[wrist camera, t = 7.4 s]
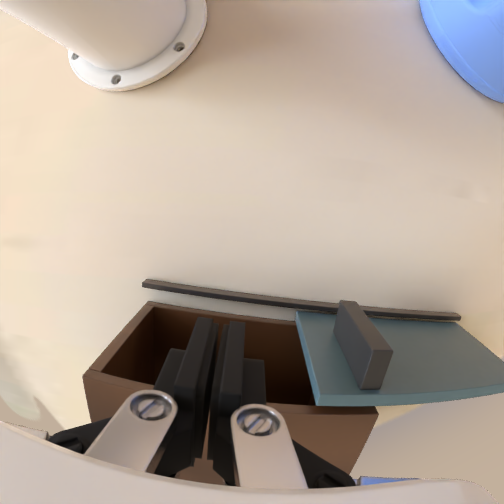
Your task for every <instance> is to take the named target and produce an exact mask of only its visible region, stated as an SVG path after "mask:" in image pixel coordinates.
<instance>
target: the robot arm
mask: <svg viewBox="0 0 504 504" xmlns="http://www.w3.org/2000/svg"><path fill="white" fill-rule="evenodd" d="M0 10H2V11H4V12H6V13H8V14H10V15H11V16H13V17H15V18H17V19H19V20H20V21H22V22H24V23H26V24H27V25H29V26H31V27H32V28H34V29H36V30H38V31H39V32H41V33H43V34H44V35H46V36H48V37H49V38H51V39H53V40H54V41H56V42H58V43H59V44H61V45H62V46H64V47H66V48H67V49H68V56H69V61H70V64H71V66H72V69H73V71H74V72H75V73H76V75H77V76H78V77H79V78H80V79H81V80H83V81H84V82H86V83H87V84H89V85H91V86H93V87H95V88H97V89H101V90H106V91H127V90H132V89H137V88H140V87H143V86H145V85H148V84H151V83H153V82H155V81H157V80H158V79H160V78H162V77H164V76H165V75H167V74H168V73H170V72H171V71H173V70H174V69H176V68H177V67H178V66H179V65H180V64H181V63H182V62H183V61H184V60H185V59H186V58H187V57H188V56H189V55H190V53H191V52H192V51H193V50H194V49H195V47H196V46H197V44H198V42H199V40H200V39H201V37H202V35H203V32H204V29H205V26H206V23H207V13H208V12H207V5H206V1H205V0H0ZM180 49H183V50H182V51H179V50H180ZM120 80H121V81H120ZM119 81H120V82H119ZM118 82H119V83H118ZM218 329H219V323H213V319H211V318H204V317H198V318H197V321H196V323H195V326H194V329H193V332H192V334H191V337H190V340H189V343H188V346H187V348H186V350H180V349H173V348H171V349H170V351H169V353H168V355H167V357H166V360H165V362H164V364H163V367H162V369H161V371H160V374H159V376H158V378H157V381H156V383H155V385H154V388H153V390H142V391H137V392H135V393H133V394H131V395H130V396H129V397H128V398H127V399H126V400H125V402H124V403H123V404H122V406H121V407H120V408H119V409H118V411H117V412H116V413H115V415H114V416H113V417H110V418H106V419H103V420H100V421H96V422H93V423H90V424H86V425H83V426H79V427H75V428H72V429H68V430H64V431H61V432H58V433H56V434H54V435H53V436H49V434H48V432H47V431H42V430H37V429H33V428H28V427H24V426H20V425H15V424H12V423H8V422H4V421H0V504H498V503H497V501H496V500H495V499H494V497H493V496H492V495H491V494H490V493H489V492H488V491H487V490H486V489H485V488H483V487H482V486H480V485H478V484H476V483H473V482H470V481H465V480H458V479H457V480H456V479H445V478H441V479H440V478H437V479H418V478H383V477H367V476H360V478H359V479H352V477H351V476H349V475H348V474H347V473H346V472H344V471H343V470H341V469H339V468H337V467H336V466H334V465H332V464H331V463H329V462H327V461H326V460H324V459H322V458H321V457H319V456H318V455H316V454H314V453H313V452H311V451H310V450H308V449H306V448H305V447H303V446H302V445H300V444H299V443H297V442H296V441H294V440H293V439H291V437H290V434H289V431H288V428H287V425H286V422H285V420H284V418H283V416H282V415H281V414H280V413H279V412H278V411H277V410H275V409H273V408H271V407H269V406H266V387H265V368H264V360H259V359H249V358H244V340H245V323H244V322H236V321H230V325H227V324H224V325H223V330H222V335H221V341H220V346H219V352H218V357H217V363H216V352H217V340H218ZM215 363H216V368H215ZM209 412H210V417H209ZM208 417H209V433H208V450H207V460H213V470H214V471H215V472H216V473H217V474H219V475H220V476H221V477H222V478H223V485H216V484H208V483H200V482H193V481H187V480H181V479H179V477H180V471H182V470H184V469H186V468H188V467H190V466H191V467H194V462H195V458H199V459H202V454H203V448H204V442H205V436H206V429H207V423H208Z"/></svg>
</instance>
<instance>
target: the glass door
mask: <svg viewBox="0 0 504 504" xmlns="http://www.w3.org/2000/svg"><path fill="white" fill-rule="evenodd" d="M295 321H296V325H297V329H298V333H299V337H300V341H301V345H302V349H303V353H304V357H305V361H306V365H307V369H308V374H309V378H310V382H311V386H312V390H313V394H314V399H315V403H316V406H391V405H409V404H422V403H433V402H443V401H452V400H460V399H467V398H474V397H480V396H486V395H492V394H497V393H503V392H504V362H503V361H502V360H501V359H500V358H499V357H497V356H496V355H495V354H494V353H493V352H491V351H490V350H489V349H488V348H487V347H485V346H484V345H483V344H482V343H481V342H479V341H478V340H477V339H476V338H474V337H473V336H472V335H471V334H470V333H468V332H467V331H466V330H465V329H463V328H462V327H461V326H460V325H458V324H457V323H456V322H434V321H415V320H399V319H384V318H371V317H367V315H366V314H365V313H364V311H363V310H362V309H361V308H360V306H359V305H358V304H357V302H354V301H344V300H340V303H339V308H338V312H337V315H335V314H325V313H314V312H305V311H296V316H295Z"/></svg>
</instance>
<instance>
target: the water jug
mask: <svg viewBox="0 0 504 504" xmlns="http://www.w3.org/2000/svg"><path fill="white" fill-rule="evenodd" d="M419 2H420V8H421V12H422V16H423V19H424V22H425V24H426V27H427V29H428V31H429V33H430V35H431V37H432V39H433V40H434V42H435V44H436V45H437V47H438V48H439V50H440V51H441V53H442V54H443V56H444V57H445V58H446V60H447V61H448V62H449V63H450V65H451V66H452V67H453V68H454V69H455V70H456V72H457V73H458V74H459V75H460V76H461V77H462V78H463V79H464V80H465V81H466V82H468V83H469V84H470V85H471V86H472V87H474V88H475V89H476V90H478V91H479V92H480V93H482V94H483V95H485V96H487V97H489V98H491V99H493V100H495V101H498V102H501V103H504V0H419Z"/></svg>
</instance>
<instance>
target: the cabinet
mask: <svg viewBox="0 0 504 504" xmlns="http://www.w3.org/2000/svg"><path fill="white" fill-rule="evenodd" d="M142 287H145V288H151V289H157V290H163V291H170V292H176V293H183V294H189V295H196V296H203V297H210V298H217V299H224V300H232V301H240V302H247V303H255V304H263V305H272V306H280V307H289V308H298V309H308V310H318V311H328V312H338V308H339V304H335V303H325V302H316V301H306V300H297V299H288V298H280V297H271V296H263V295H255V294H247V293H239V292H232V291H224V290H217V289H210V288H203V287H196V286H189V285H182V284H175V283H169V282H162V281H156V280H149V279H146V280H145V281H143V282H142ZM360 308H361V309H362V310H363V311H364V313H365V314H366V315H374V316H387V317H401V318H417V319H435V320H456V321H460V319H461V316H459V315H458V314H457V313H446V312H430V311H416V310H402V309H390V308H378V307H367V306H360ZM198 317H204V318H211V319H213V323H219V329H218V340H217V352H216V363H217V357H218V352H219V346H220V341H221V335H222V330H223V325H224V324H227V325H230V321H236V322H244V323H245V340H244V358H249V359H259V360H264V368H265V387H266V406H269V407H271V408H273V409H275V410H277V411H278V412H279V413H280V414H281V415H282V416H283V418H284V420H285V422H286V425H287V428H288V431H289V434H290V437H291V439H293V440H294V441H296V442H297V443H299V444H300V445H302V446H303V447H305V448H306V449H308V450H310V451H311V452H313V453H314V454H316V455H318V456H319V457H321V458H322V459H324V460H326V461H327V462H329V463H331V464H332V465H334V466H336V467H337V468H339V469H341V470H343V471H344V472H346V473H347V474H348V475H349V474H350V472H351V470H352V469H353V467H354V465H355V463H356V461H357V459H358V457H359V455H360V453H361V451H362V449H363V447H364V445H365V443H366V441H367V439H368V437H369V435H370V433H371V431H372V429H373V426H374V424H375V422H376V420H377V418H378V415H379V414H378V412H377V410H376V407H375V406H316V403H315V399H314V394H313V390H312V386H311V382H310V378H309V374H308V369H307V365H306V361H305V357H304V353H303V349H302V345H301V341H300V337H299V333H298V329H297V325H296V322H294V321H285V320H276V319H267V318H258V317H250V316H242V315H235V314H227V313H220V312H213V311H206V310H199V309H192V308H186V307H180V306H173V305H167V304H161V303H155V302H150V301H148V302H147V303H146V304H145V305H144V306H143V307H142V308H141V310H140V311H139V312H138V313H137V314H136V315H135V316H134V317H133V318H132V320H131V321H130V322H129V323H128V324H127V325H126V326H125V327H124V328H123V330H122V331H121V332H120V333H119V334H118V335H117V336H116V337H115V339H114V340H113V341H112V342H111V343H110V344H109V345H108V347H107V348H106V349H105V350H104V351H103V352H102V353H101V355H100V356H99V357H98V358H97V359H96V360H95V362H94V363H93V364H92V365H91V366H90V367H89V369H88V370H87V371H86V372H85V373H84V374H83V376H82V377H83V383H84V389H85V394H86V399H87V404H88V409H89V413H90V418H91V422H92V423H93V422H96V421H100V420H103V419H106V418H110V417H113V416H114V415H115V413H116V412H117V411H118V409H119V408H120V407H121V406H122V404H123V403H124V402H125V400H126V399H127V398H128V397H129V396H130V395H131V394H133V393H135V392H137V391H142V390H153V388H154V385H155V383H156V381H157V378H158V376H159V374H160V371H161V369H162V367H163V364H164V362H165V360H166V357H167V355H168V353H169V351H170V349H171V348H173V349H180V350H186V348H187V346H188V343H189V340H190V337H191V334H192V332H193V329H194V326H195V323H196V321H197V318H198ZM216 363H215V368H216ZM209 417H210V412H209ZM209 417H208V423H207V429H206V436H205V442H204V448H203V454H202V459H199V458H195V462H194V467H191V466H190V467H188V468H186V469H184V470H182V471H180V477H179V479H181V480H187V481H193V482H200V483H208V484H216V485H223V478H222V477H221V476H220V475H219V474H217V473H216V472H215V471H214V470H213V460H207V450H208V433H209Z"/></svg>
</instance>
